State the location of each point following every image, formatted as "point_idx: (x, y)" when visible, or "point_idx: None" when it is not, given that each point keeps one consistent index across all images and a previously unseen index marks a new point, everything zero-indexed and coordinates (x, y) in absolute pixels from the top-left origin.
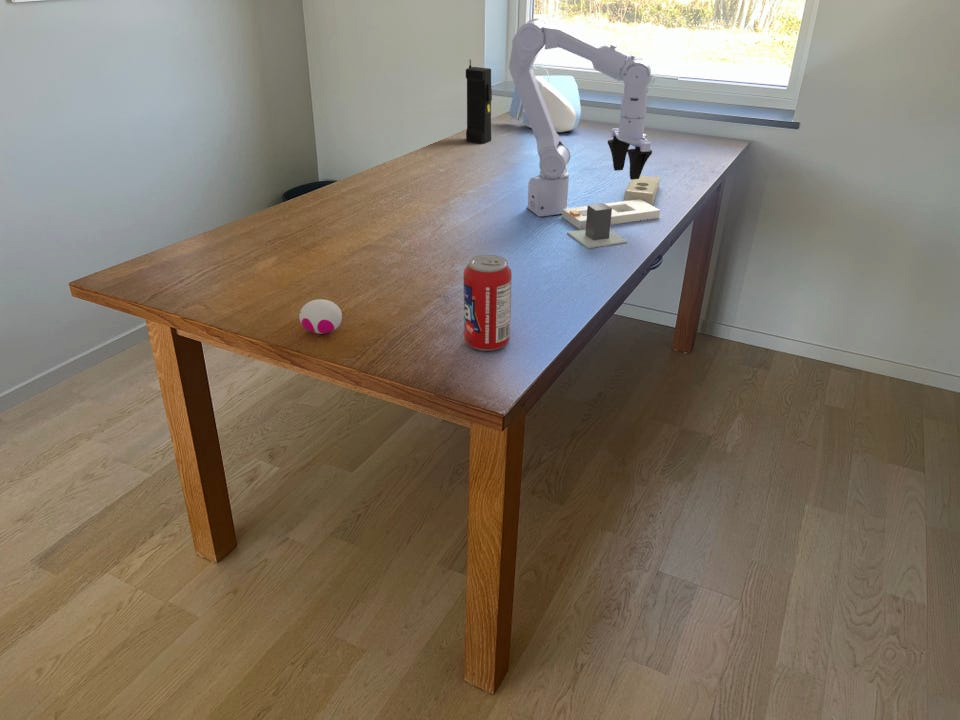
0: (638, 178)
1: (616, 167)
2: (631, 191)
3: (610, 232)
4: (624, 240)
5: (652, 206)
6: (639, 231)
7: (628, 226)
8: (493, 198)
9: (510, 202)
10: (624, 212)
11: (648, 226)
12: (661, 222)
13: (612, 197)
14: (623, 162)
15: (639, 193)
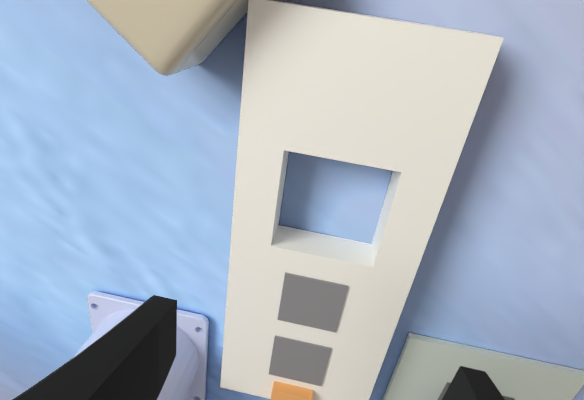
0: (488, 382)
1: (163, 373)
2: (182, 43)
3: (474, 362)
4: (576, 379)
5: (414, 32)
6: (542, 259)
7: (459, 254)
8: (3, 391)
9: None
10: (391, 245)
11: (531, 182)
12: (547, 76)
13: (64, 32)
14: (136, 357)
15: (228, 2)
